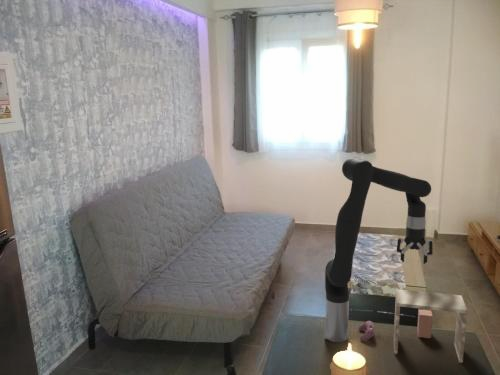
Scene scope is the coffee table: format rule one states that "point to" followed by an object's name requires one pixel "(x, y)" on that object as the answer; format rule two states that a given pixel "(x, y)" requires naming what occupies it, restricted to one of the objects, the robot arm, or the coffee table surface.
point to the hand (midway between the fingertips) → (413, 262)
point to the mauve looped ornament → (367, 330)
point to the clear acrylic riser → (433, 303)
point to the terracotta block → (424, 323)
